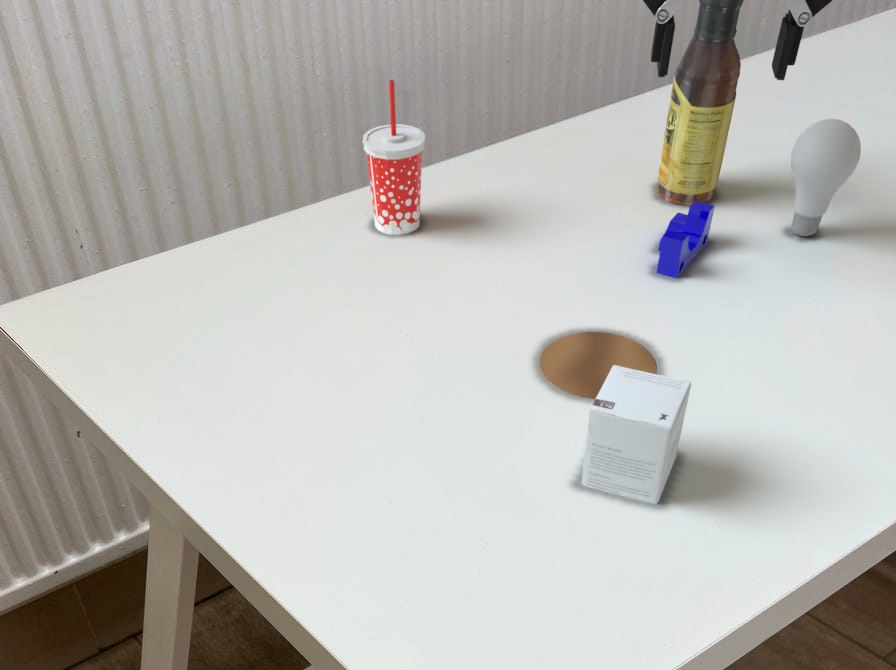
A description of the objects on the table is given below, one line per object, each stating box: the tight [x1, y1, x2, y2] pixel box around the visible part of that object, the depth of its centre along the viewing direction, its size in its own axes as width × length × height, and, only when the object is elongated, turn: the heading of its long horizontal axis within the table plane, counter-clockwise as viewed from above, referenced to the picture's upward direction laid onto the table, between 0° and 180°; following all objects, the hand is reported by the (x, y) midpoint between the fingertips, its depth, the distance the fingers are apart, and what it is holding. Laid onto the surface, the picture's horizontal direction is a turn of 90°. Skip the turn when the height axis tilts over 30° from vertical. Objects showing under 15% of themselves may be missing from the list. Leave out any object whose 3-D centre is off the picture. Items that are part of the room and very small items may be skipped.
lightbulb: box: [790, 118, 862, 237], centre depth 93 cm, size 6×6×11 cm
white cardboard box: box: [581, 365, 692, 505], centre depth 72 cm, size 6×6×7 cm
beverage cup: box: [362, 79, 426, 236], centre depth 96 cm, size 6×6×14 cm
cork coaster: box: [538, 331, 657, 400], centre depth 84 cm, size 10×10×1 cm
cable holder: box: [656, 201, 716, 279], centre depth 94 cm, size 8×4×4 cm, turn 148°
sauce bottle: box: [657, 0, 744, 207], centre depth 96 cm, size 6×6×20 cm
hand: (719, 72), depth 82 cm, fingers open, 9 cm apart
